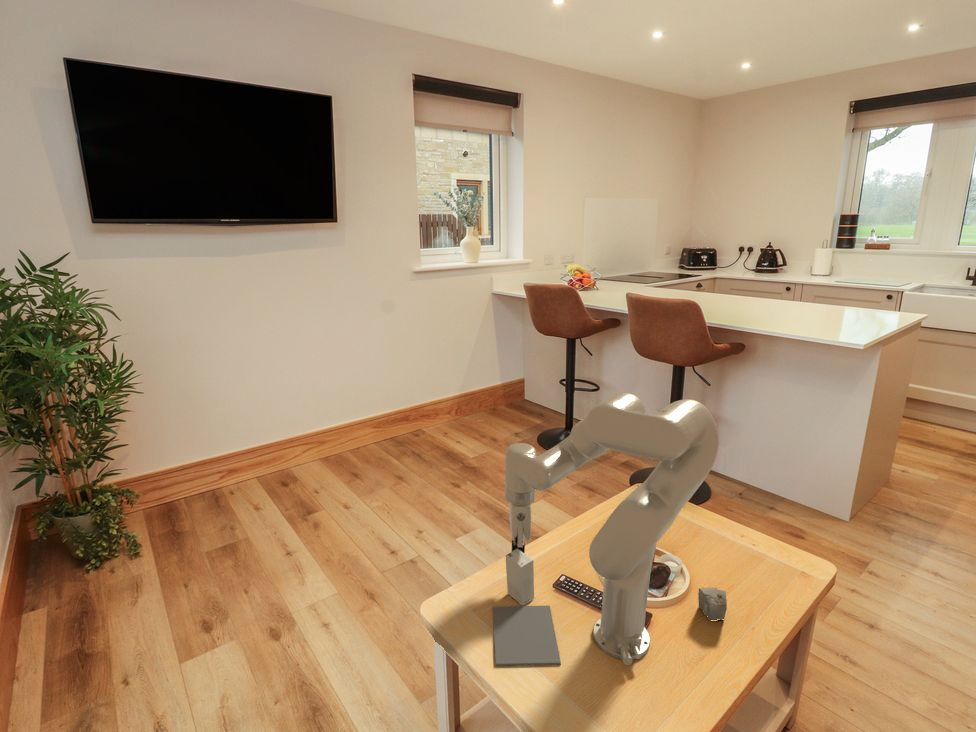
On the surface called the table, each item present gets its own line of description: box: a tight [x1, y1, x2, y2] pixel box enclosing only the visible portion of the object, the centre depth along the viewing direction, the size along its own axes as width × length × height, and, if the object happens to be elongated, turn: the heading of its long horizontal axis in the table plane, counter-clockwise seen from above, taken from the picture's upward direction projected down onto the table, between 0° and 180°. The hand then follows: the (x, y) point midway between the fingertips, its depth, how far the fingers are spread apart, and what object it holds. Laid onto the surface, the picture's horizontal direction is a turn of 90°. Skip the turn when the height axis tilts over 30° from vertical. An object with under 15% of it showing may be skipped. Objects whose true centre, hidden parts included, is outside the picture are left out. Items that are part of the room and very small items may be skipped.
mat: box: [492, 605, 562, 667], centre depth 120 cm, size 17×14×1 cm
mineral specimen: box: [697, 587, 728, 621], centre depth 125 cm, size 7×9×8 cm
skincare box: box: [505, 548, 535, 606], centre depth 130 cm, size 6×4×12 cm
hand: (517, 555), depth 135 cm, fingers closed
